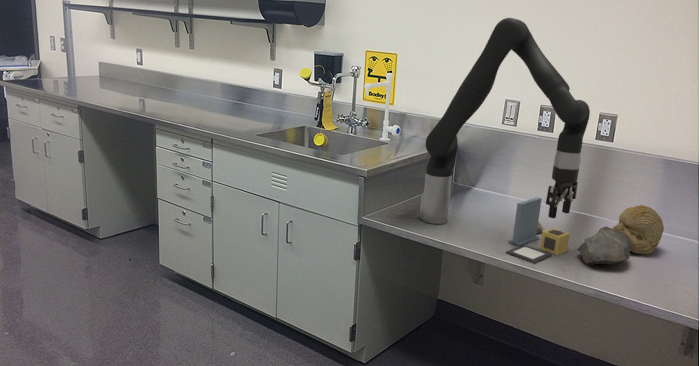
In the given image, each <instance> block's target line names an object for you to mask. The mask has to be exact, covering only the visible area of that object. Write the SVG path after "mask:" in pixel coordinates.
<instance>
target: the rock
mask: <svg viewBox="0 0 700 366" xmlns="http://www.w3.org/2000/svg"><path fill="white" fill-rule="evenodd" d="M543 230H544V227H543V226H542V224H541V223H540V222H539V220H538V227H537V234H538V235H539V234H542V232H543Z"/></svg>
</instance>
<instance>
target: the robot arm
mask: <svg viewBox="0 0 700 366" xmlns="http://www.w3.org/2000/svg"><path fill="white" fill-rule="evenodd" d="M511 51H512V52H514V53H515V54H516V56H518V57H519V58H520V59H521V60H522V61H523V63H524V65H526V67H527V69H528V71H529V73H530V75H531V78H532V79H533V81H534V82H535V84H536V86H538V88H539V89H540V91H541V92H542V93H543V94H544V96H545V97H546V98H547V99H548V101H549V102H550V104H551V106H552V108H553V110H554V112H555V113H556V116H557V117H558V119H560V120H561V122H562V123H564V125H563V129H562V131H561V132H560V133H559V135H558V139H557V145H556V151H555V155H554V159H553V167H552V173H551V179H552V180H553V181H555V183H554V185H549V186H548V187H547V188H548V189H547V194H546V199H545V200H546V201H545V205H547V206H549V208H548V215H547V216H548V218H550V219H553V220H554V219H556V218H557V212H558V206H559V204H560V202H562V201H563V202H562V209H561V212H562V213H563V214H569V213H570V210H571V205H572V202H574V200H575V199H576V198H577V191H578V183H579V182H578V179H579V174H580V173H579V171H580V165H581V158H582V157H581V155H582V148H583V139H584V135H585V132H586V130H587V126H588V123H589V120H590V114H591V112H590V106H589V104H588V103H587V102H586V101H584V100H581V99H575V98H574V96H573V95H572V94H571V92H570V91H571V90H570V86H569V84H568V83H567V81H566V80H565V79H564V77H563V76H562V75H561V73H559V71H558V70H557V69H556V68H555V66H554V65H553V64H552V63H551V61H549V59H548V58H547V57H546V55H545V54H544V52H543V51H542V49H541V48H540V47H539V45H538V44H537V42H536V40H535V39H534V36H533V35H532V33H531V30H530V29H529V27H528V26H527V24H526V23H525V22H524V21H522V20H520V19H518V18H514V17H506V18H503V19H501V20H500V21H498V22H497V23H496V25H495V27H494V28H493V30H492V32H491V34H490V36H489V38H488V40H487V42H486V43H485V46H484V48H483V50H482V52H481V53H480V55H479V57H478V58H477V60H476V61H475V62H474V64H473V66H472V68H471V69H470V71H469V72H468V73H467V75H466V76H465V78H464V80H463V81H462V83H461V84H460V86H459V87H458V90H457V91H456V93H455V94H454V95H453V97H452V100H451V101H450V103H449V104H448V107H447V109H446V111H445V113H444V114H443V115H442V117H441V118H440V120H439V121H438V122H437V123H436V125H435V126H434V128H432V130H431V131H430V132H429V133H428V135H427V137H426V139H425V148H426V151H427V153H428V154H429V155H430V157H429V160H428V162H427V164H426V168H425V176H424V177H425V179H424V188H423V189H424V190H423V192H421V199H420V209H419V219H421V220H422V221H423V222H425V223H428V224H431V225H432V224H433V225H442V224H446V223H448V219H449V210H450V199H451V192H452V180H453V172H454V169H455V164H456V159H457V152H458V141H459V140H458V137H457V136H458V133H459V132H460V130H461V129H462V128H463V126H464V124H466V122H468V121H469V120H470V118H472V116H473V115H475V113H476V112H477V111H478V110H479V108H480V107H481V106H482V104H484V102H485V100H486V99H487V97H488V95H489V94H490V93H491V91H492V89H493V87H494V85H495V81H496V78H497V75H498V71H499V69H500V66H501V64H502V63H503V62H504V60H505V59H506V58H507V56H508V55H509V53H510V52H511Z"/></svg>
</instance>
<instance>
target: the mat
mask: <svg viewBox="0 0 700 366" xmlns="http://www.w3.org/2000/svg"><path fill="white" fill-rule="evenodd" d="M505 254H507V255H510V256H513V257H515V258H517V257H518V258H517V259H520V258H521V260H523V259H524V260H523V261H525V260H526V262H528V261H529V262H528V263H531V262H532V263H531V264H533V263H534V264H538V263H539V261H540V262H542V261H545V260H546V259H549V258H551V257H552V256H553V255H552V253H549V252H547V251H544V250H541V249H537V248H535V247H531V246H528V245H527V244H526V245H521V246H519V247H518V246H515V247H514V248H512V249H510V250H507V251H505ZM537 262H538V263H537Z"/></svg>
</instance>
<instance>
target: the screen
mask: <svg viewBox="0 0 700 366" xmlns="http://www.w3.org/2000/svg"><path fill="white" fill-rule="evenodd" d="M516 204H517V205H516V212H515V220H514V226H513V234H512V239H510V240H508V244H510V245H514V246H515V247H519V246H521V245H526V246H527V245H528V244H530V243H532V242H533V243H534V242H535V241H538V240H540V236H538V235H537V234H538V233H537V227H538V221H539V219H540V213H541V207H542V205H541V204H542V198H541V197H537V196H536V197H533V198H530V199H527V200H524V201H520V202H518V203H516Z"/></svg>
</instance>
